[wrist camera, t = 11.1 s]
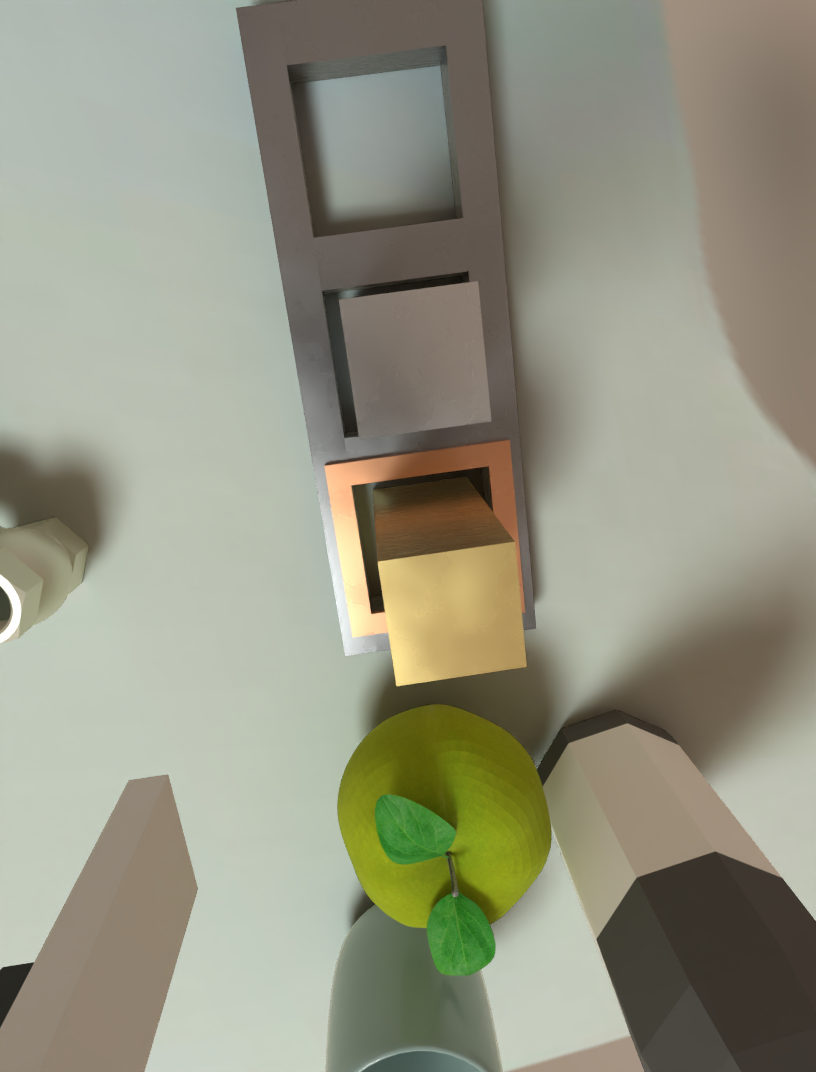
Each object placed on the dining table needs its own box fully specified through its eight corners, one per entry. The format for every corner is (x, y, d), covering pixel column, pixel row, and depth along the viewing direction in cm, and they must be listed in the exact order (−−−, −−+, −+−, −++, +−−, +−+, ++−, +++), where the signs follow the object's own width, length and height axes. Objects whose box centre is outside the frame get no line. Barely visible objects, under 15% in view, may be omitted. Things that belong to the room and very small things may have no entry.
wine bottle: (709, 776, 38) (1774, 2124, 9) (592, 864, 39) (1225, 2313, 10) (621, 678, 36) (1620, 1994, 7) (501, 774, 37) (968, 2245, 9)
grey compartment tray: (244, 30, 28) (234, 4, 25) (472, 2, 28) (481, -27, 26) (346, 638, 35) (345, 658, 33) (526, 612, 35) (537, 630, 33)
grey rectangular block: (345, 310, 31) (338, 299, 22) (445, 297, 31) (477, 281, 22) (360, 412, 32) (359, 439, 23) (456, 399, 32) (491, 421, 23)
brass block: (372, 489, 33) (377, 561, 22) (466, 476, 33) (514, 541, 22) (386, 578, 34) (396, 686, 23) (476, 565, 34) (526, 666, 24)
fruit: (375, 847, 38) (379, 1018, 29) (320, 699, 36) (305, 833, 26) (538, 799, 38) (598, 955, 28) (495, 647, 35) (545, 762, 26)
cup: (500, 923, 40) (544, 1108, 30) (405, 1006, 41) (417, 1209, 32) (402, 846, 38) (415, 1017, 29) (305, 935, 39) (286, 1127, 30)
